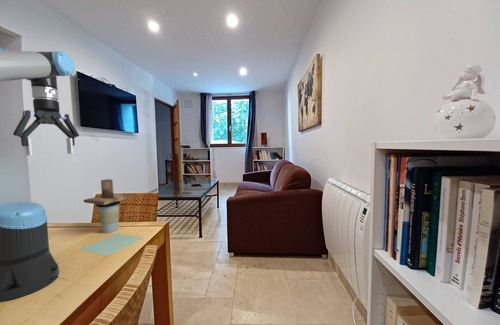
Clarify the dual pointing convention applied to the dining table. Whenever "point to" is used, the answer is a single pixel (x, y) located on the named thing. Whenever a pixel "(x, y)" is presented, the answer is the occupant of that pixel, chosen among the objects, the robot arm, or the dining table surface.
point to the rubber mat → (111, 244)
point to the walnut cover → (107, 194)
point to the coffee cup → (109, 216)
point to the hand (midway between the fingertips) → (51, 154)
